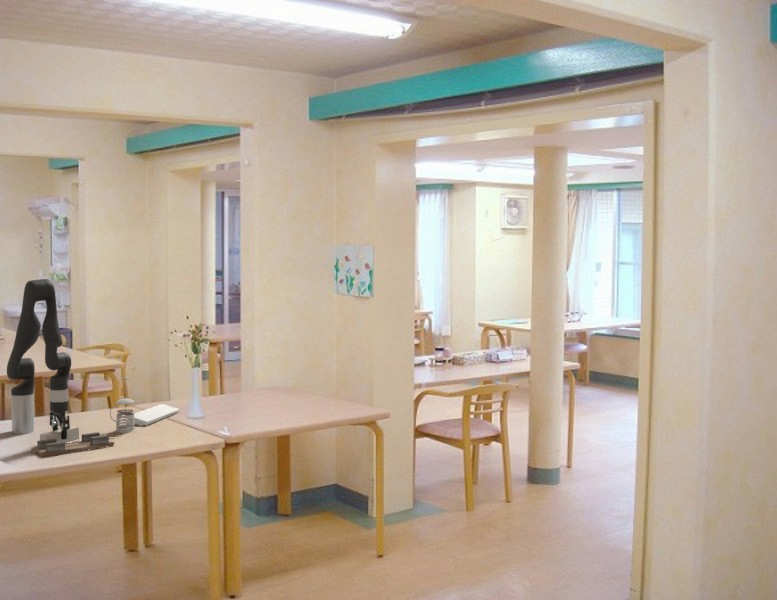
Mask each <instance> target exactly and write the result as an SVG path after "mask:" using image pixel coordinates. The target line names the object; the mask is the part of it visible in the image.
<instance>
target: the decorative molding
mask: <svg viewBox="0 0 777 600" xmlns="http://www.w3.org/2000/svg"><path fill="white" fill-rule="evenodd" d="M179 412H180V408H177V407H174V406H170V405H167V404H165V403H164V404H163V403H161V404H158V405H154V406H151V407H149V408H147V409H144V410H141V411H138V412H135V413H134V425H136V426H139V427H143V426H146V427H147V426H148V425H151V424H153V423H157V422H159V421H161V420H164V419H166V418H168V417H171V416H173V415H177V414H178V413H179ZM127 420H128V421H133V420H129V419H127ZM127 423H129V422H127ZM129 424H132V423H129Z"/></svg>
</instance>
